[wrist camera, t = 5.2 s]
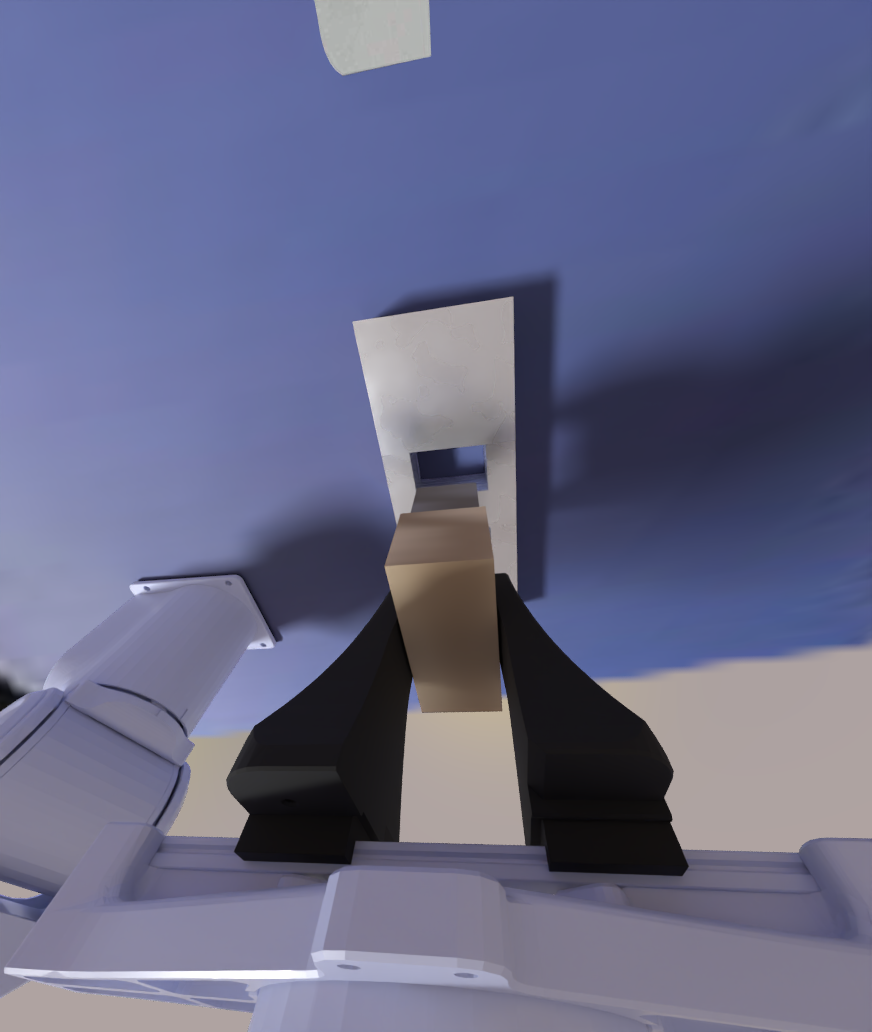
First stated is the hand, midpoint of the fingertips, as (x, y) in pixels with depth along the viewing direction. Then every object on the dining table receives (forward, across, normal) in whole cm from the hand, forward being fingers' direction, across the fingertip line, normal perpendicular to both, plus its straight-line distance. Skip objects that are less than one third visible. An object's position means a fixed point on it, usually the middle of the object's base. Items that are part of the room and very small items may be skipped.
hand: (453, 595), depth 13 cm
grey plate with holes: (+9, 0, 0) cm, 9 cm away
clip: (+3, 0, 0) cm, 3 cm away
